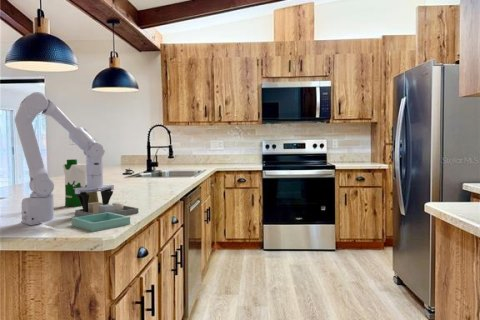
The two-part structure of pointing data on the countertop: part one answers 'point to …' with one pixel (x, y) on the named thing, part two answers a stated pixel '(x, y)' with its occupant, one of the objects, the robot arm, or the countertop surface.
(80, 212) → the tray
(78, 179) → the milk carton
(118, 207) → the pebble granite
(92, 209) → the tan rectangular block
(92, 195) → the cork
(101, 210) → the light gray rectangular block
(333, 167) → the countertop surface
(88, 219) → the dish
